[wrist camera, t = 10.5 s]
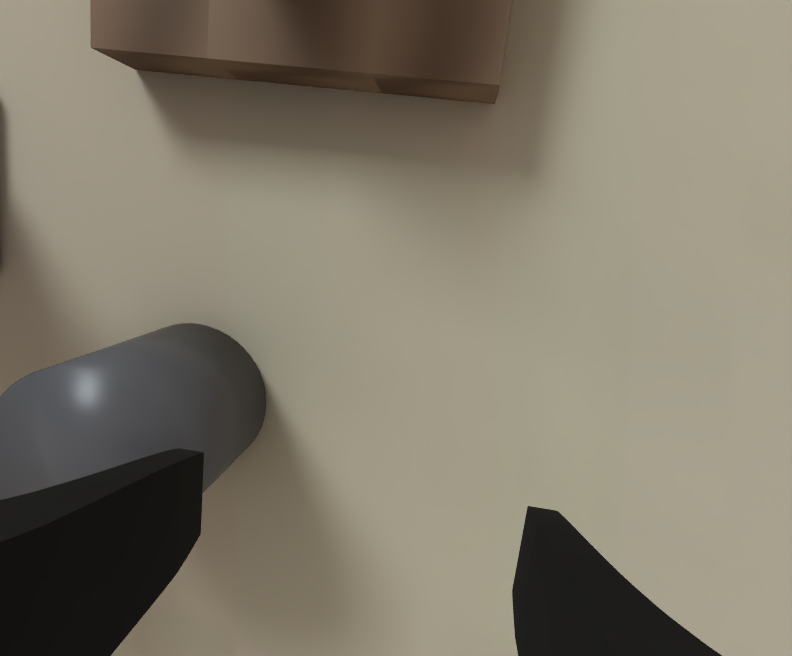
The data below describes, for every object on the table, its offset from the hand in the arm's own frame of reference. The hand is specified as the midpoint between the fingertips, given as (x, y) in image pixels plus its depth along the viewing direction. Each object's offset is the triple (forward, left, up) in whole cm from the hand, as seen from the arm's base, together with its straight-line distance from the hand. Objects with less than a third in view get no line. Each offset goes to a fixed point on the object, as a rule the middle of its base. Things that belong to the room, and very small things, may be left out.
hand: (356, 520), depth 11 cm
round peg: (-9, -2, -10) cm, 14 cm away
